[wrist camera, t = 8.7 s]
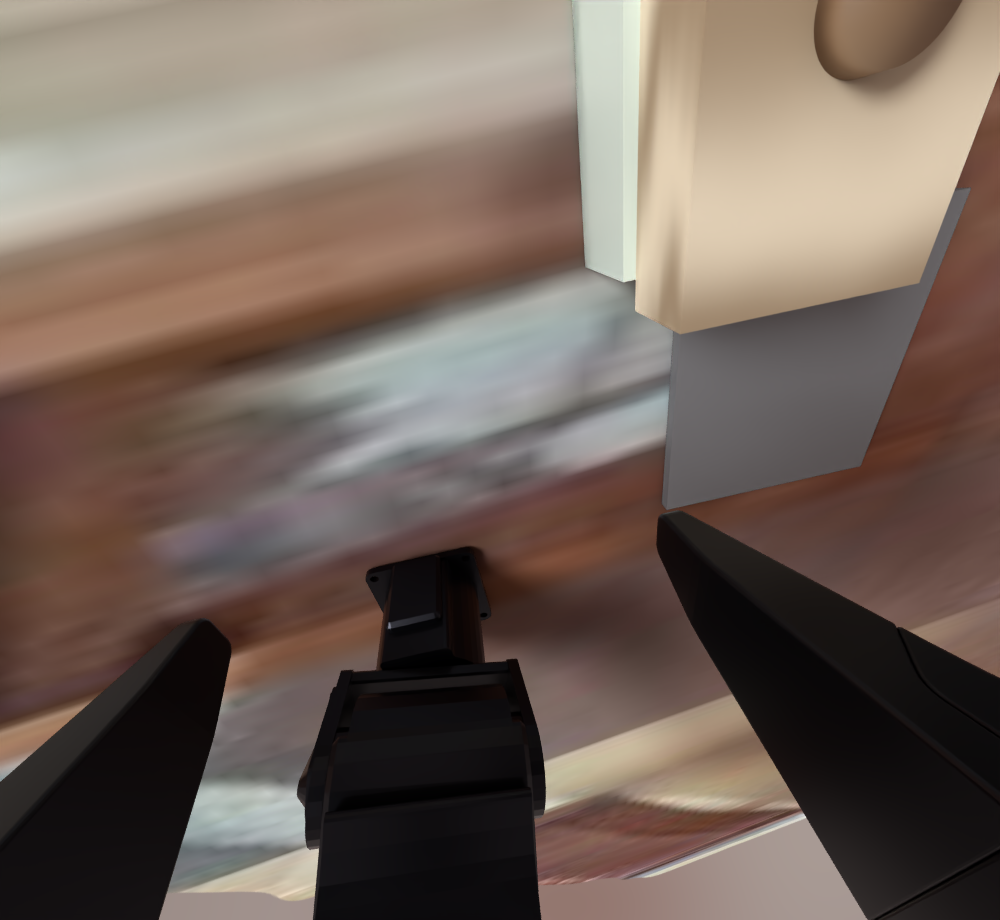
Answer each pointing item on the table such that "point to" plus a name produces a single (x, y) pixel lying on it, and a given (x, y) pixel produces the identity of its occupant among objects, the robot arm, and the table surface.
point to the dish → (608, 131)
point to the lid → (799, 148)
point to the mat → (788, 388)
